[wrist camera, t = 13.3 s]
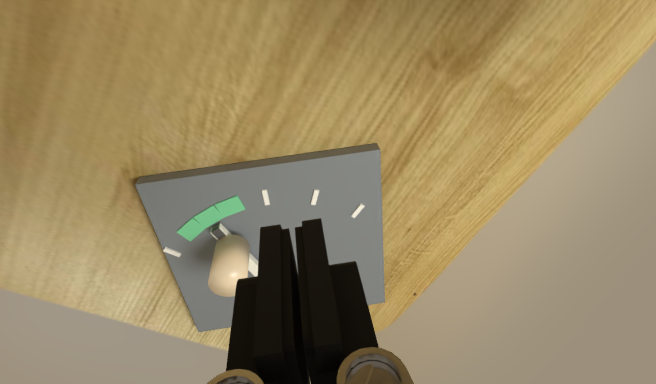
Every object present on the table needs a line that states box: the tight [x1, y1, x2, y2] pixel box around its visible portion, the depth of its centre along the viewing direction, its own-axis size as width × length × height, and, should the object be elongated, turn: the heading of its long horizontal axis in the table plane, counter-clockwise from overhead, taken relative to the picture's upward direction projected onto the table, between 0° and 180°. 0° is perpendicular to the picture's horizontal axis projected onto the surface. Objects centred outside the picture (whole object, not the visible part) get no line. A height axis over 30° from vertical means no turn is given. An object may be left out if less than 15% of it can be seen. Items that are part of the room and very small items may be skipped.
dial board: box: [135, 143, 385, 332], centre depth 44 cm, size 24×22×2 cm
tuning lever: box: [208, 223, 258, 297], centre depth 42 cm, size 15×4×6 cm, turn 31°
